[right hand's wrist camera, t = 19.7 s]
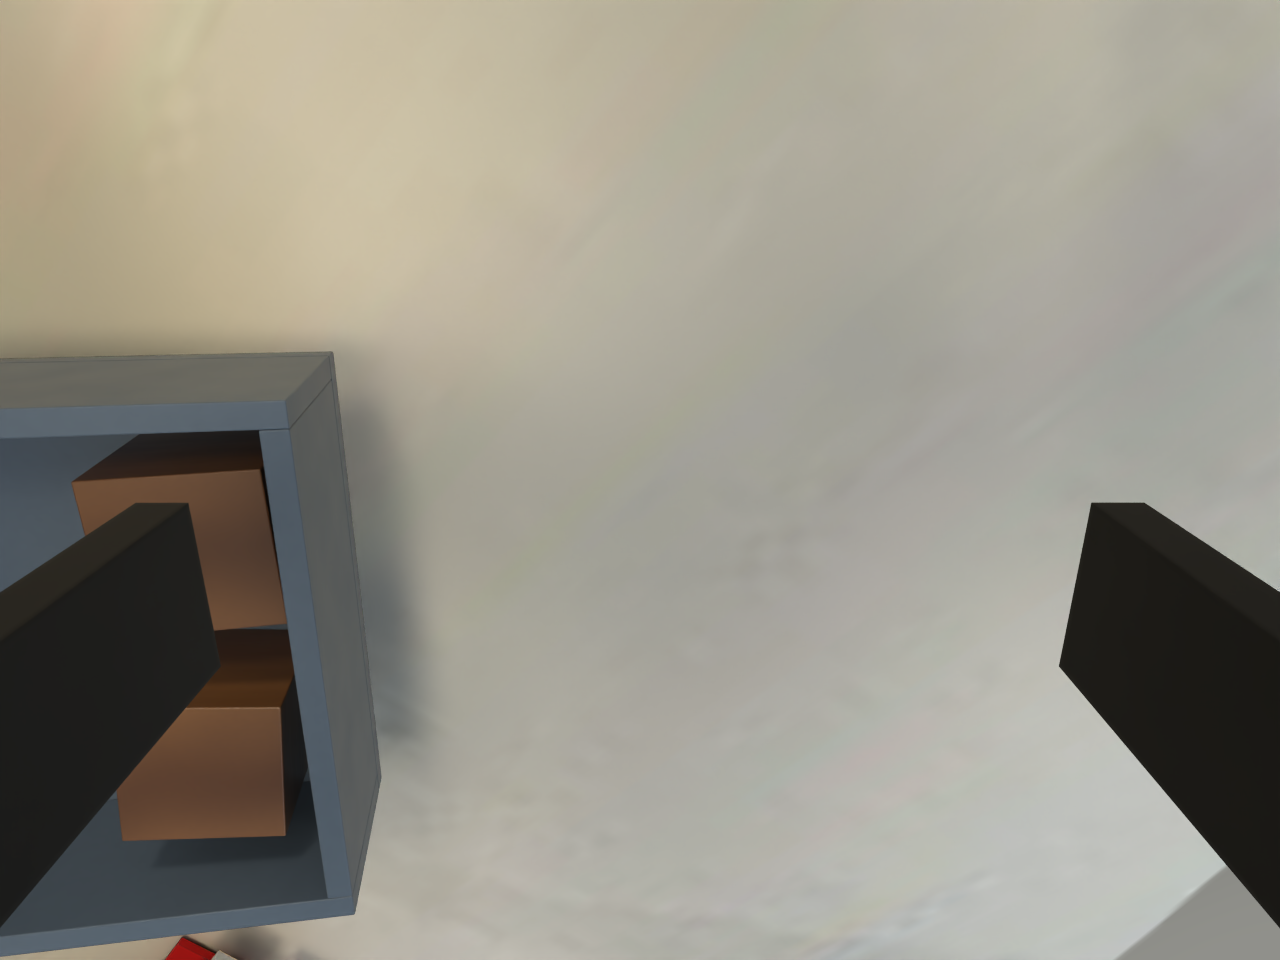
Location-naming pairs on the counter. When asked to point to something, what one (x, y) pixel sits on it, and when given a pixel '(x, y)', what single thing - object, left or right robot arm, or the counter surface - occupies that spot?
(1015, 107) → the counter surface
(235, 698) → the walnut block
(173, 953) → the toy
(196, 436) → the walnut block
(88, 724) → the right robot arm
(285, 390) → the tray
